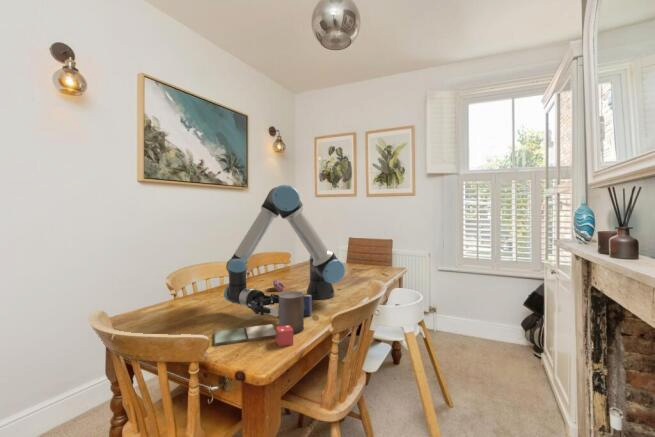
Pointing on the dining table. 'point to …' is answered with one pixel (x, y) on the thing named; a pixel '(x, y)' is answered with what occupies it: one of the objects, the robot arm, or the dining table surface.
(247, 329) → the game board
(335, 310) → the dining table surface
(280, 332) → the red die
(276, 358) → the dining table surface
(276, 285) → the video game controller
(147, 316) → the dining table surface
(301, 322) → the pillar candle
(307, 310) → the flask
